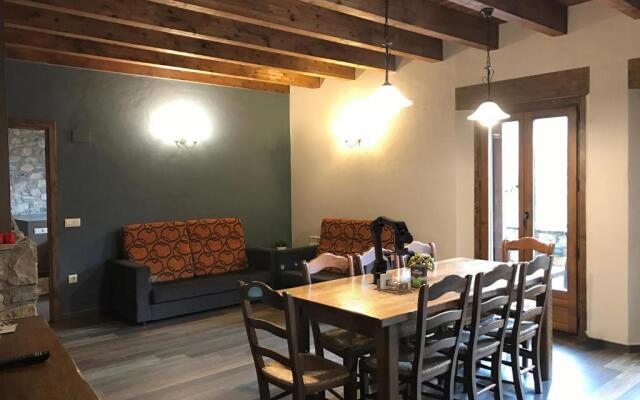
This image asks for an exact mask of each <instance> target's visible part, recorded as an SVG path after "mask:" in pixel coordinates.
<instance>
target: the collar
mask: <svg viewBox="0 0 640 400" xmlns="http://www.w3.org/2000/svg"><path fill="white" fill-rule="evenodd" d="M386 280H389V281H393V273H390V272H388V273H387V272H386V274H380V289H389V288H393V286H388V285H386Z"/></svg>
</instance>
